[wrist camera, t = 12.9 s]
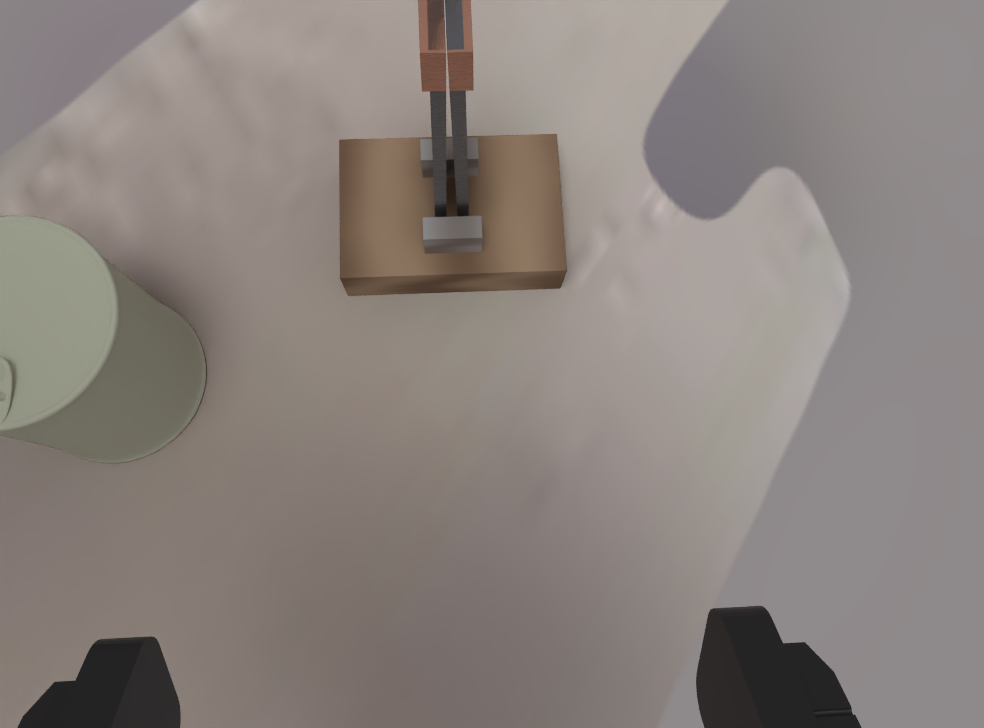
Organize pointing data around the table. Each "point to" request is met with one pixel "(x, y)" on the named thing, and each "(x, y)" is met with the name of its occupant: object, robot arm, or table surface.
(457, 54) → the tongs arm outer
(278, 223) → the table surface
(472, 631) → the table surface
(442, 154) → the bar
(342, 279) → the stand
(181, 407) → the can
